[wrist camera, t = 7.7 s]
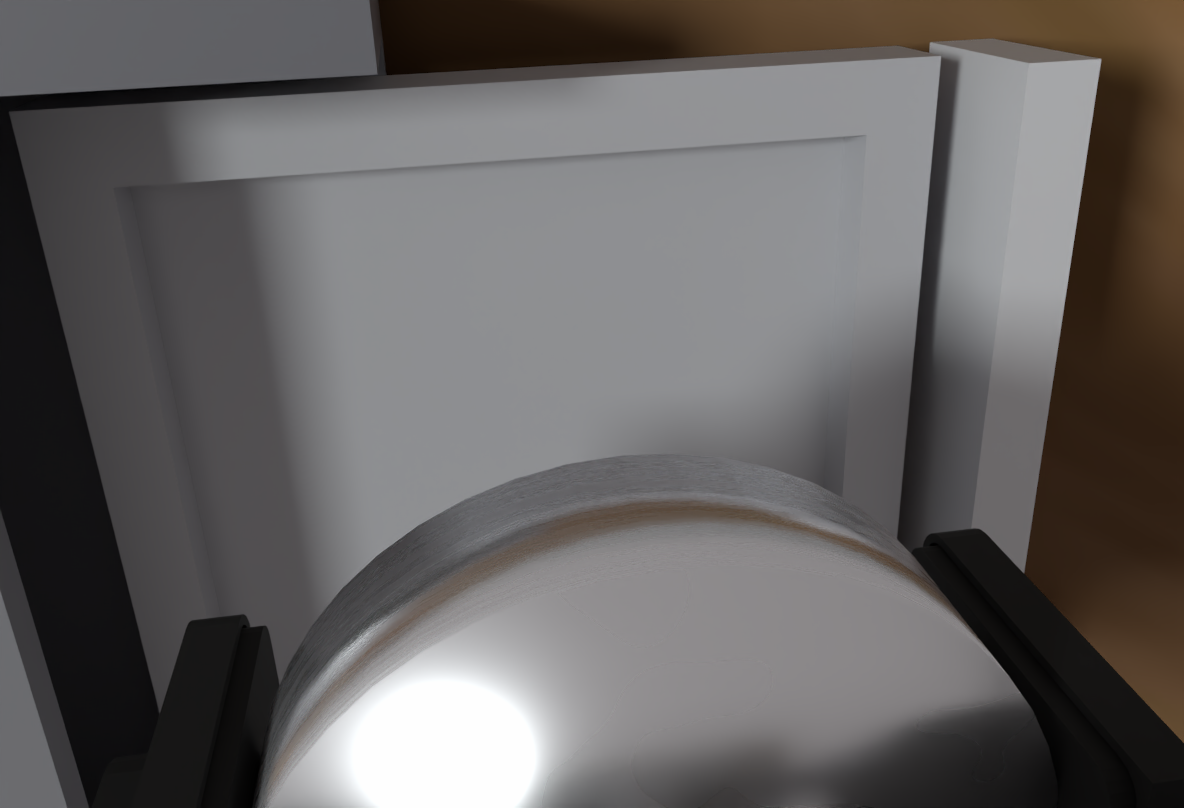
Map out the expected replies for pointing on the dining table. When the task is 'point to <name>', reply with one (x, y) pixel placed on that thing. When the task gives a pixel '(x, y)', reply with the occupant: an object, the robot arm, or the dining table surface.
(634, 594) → the silver disc
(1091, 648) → the robot arm
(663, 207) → the tray
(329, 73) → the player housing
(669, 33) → the dining table surface
